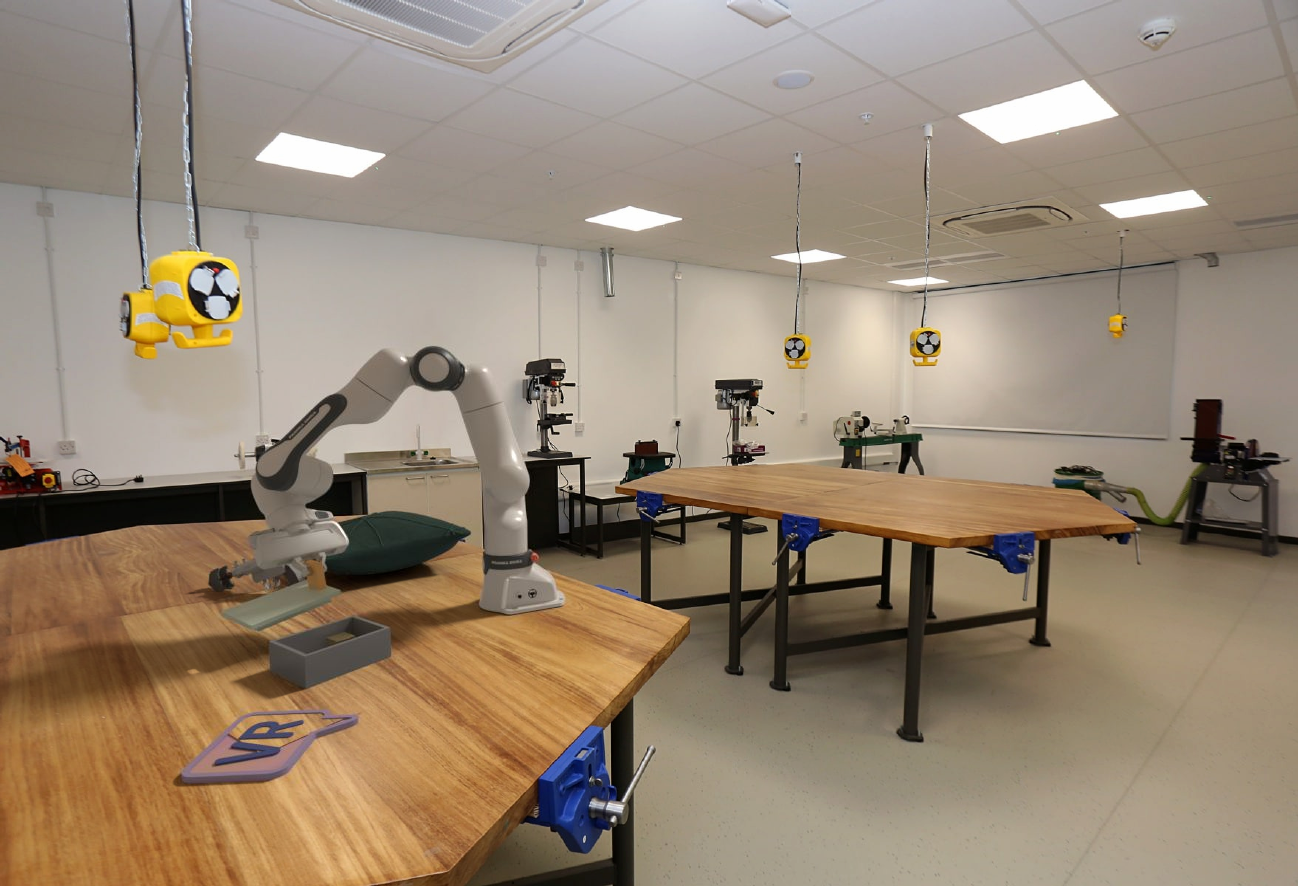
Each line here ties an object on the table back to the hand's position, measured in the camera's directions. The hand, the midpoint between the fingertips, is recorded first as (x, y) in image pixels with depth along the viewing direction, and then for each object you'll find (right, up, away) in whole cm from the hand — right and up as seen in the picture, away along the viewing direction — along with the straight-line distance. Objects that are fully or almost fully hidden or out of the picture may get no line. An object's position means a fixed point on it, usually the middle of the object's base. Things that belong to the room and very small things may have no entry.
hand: (316, 573), depth 148 cm
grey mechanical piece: (-33, -12, +32) cm, 48 cm away
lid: (-5, -7, -5) cm, 10 cm away
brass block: (+11, -15, -12) cm, 22 cm away
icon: (+17, -19, -45) cm, 52 cm away
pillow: (-10, -10, +57) cm, 58 cm away
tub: (+12, -16, -16) cm, 26 cm away
